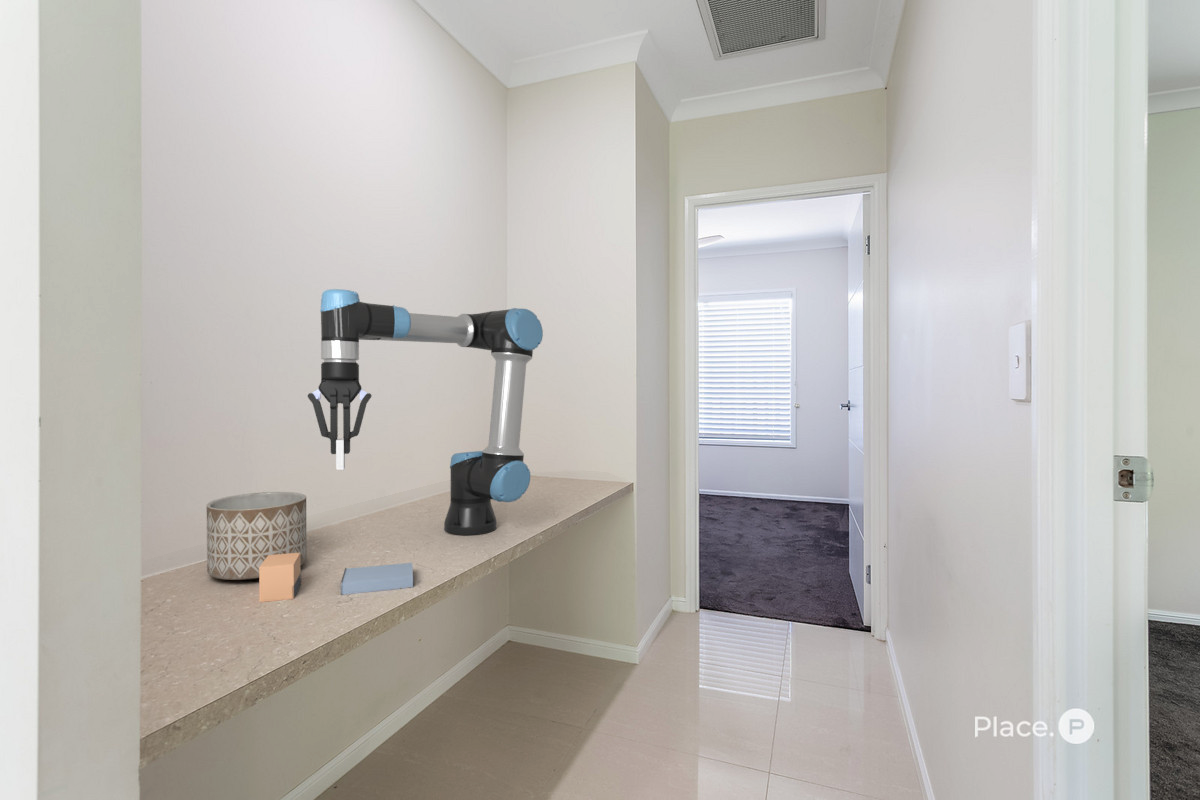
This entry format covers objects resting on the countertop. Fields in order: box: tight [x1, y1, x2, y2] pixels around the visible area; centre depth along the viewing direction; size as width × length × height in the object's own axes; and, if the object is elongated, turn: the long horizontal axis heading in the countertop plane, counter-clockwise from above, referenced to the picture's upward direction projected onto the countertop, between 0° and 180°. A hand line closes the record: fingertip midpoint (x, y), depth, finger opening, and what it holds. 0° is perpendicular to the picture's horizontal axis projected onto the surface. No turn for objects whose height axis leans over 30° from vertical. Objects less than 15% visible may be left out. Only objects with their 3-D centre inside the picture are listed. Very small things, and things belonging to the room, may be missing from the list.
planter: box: [206, 491, 308, 581], centre depth 128 cm, size 19×19×16 cm
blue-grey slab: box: [340, 562, 414, 596], centre depth 122 cm, size 14×9×3 cm, turn 109°
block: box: [258, 553, 302, 603], centre depth 116 cm, size 6×8×7 cm
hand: (340, 468), depth 124 cm, fingers closed
